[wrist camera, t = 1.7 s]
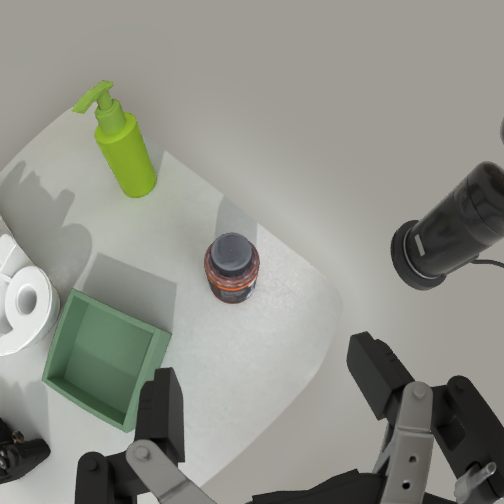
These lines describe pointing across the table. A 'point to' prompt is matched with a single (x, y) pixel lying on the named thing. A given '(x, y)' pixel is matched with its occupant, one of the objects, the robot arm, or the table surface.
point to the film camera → (19, 454)
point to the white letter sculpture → (23, 297)
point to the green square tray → (103, 359)
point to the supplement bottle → (232, 267)
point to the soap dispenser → (120, 141)
